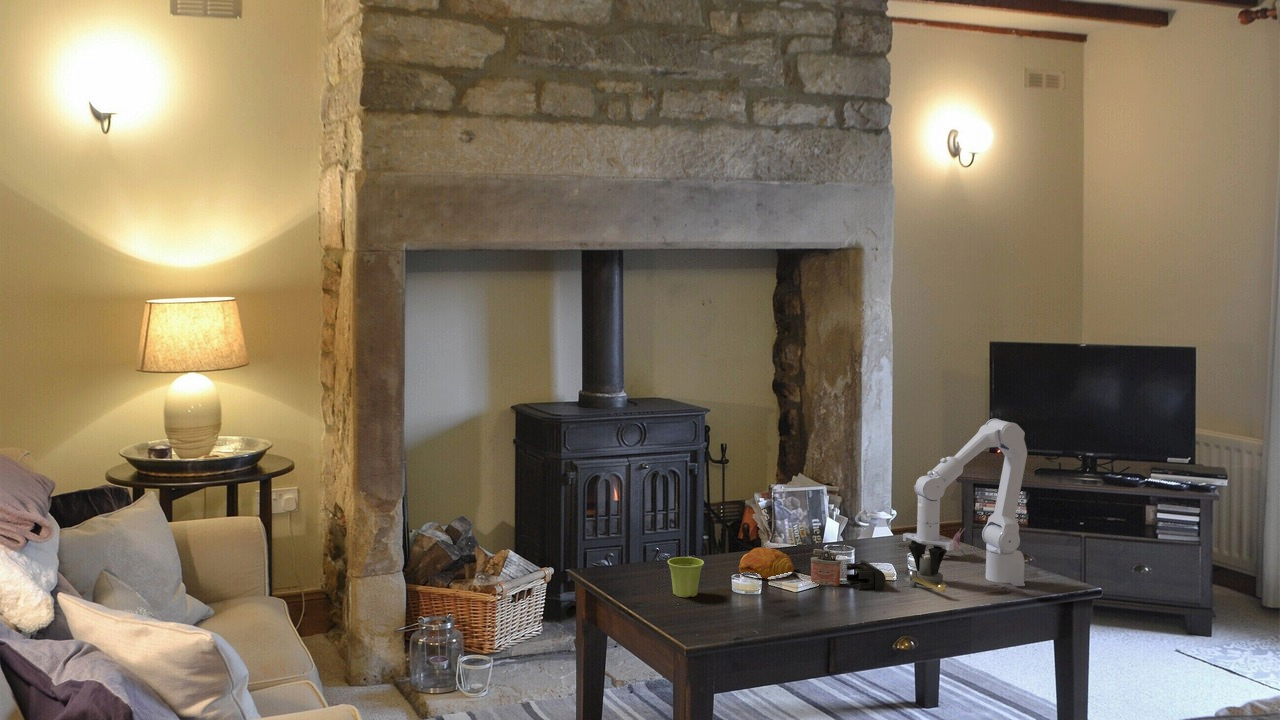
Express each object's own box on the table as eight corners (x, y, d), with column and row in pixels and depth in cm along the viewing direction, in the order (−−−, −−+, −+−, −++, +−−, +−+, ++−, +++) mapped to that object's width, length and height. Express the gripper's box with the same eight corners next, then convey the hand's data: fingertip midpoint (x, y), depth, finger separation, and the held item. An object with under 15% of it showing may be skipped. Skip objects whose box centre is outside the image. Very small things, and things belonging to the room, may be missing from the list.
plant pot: (707, 591, 293) (708, 558, 292) (697, 601, 284) (698, 567, 283) (673, 588, 296) (673, 555, 295) (662, 597, 287) (662, 564, 286)
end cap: (885, 594, 291) (886, 568, 291) (860, 595, 290) (860, 570, 289) (870, 584, 301) (871, 559, 301) (845, 585, 300) (846, 560, 299)
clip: (946, 598, 283) (947, 583, 283) (940, 599, 283) (941, 583, 282) (913, 585, 295) (914, 570, 295) (908, 585, 295) (908, 570, 294)
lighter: (841, 587, 297) (842, 550, 297) (838, 590, 294) (839, 553, 294) (812, 583, 301) (813, 546, 300) (808, 586, 298) (809, 549, 297)
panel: (952, 581, 304) (952, 576, 304) (971, 594, 291) (971, 590, 291) (894, 582, 303) (894, 577, 302) (911, 596, 290) (911, 591, 290)
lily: (960, 555, 336) (945, 527, 337) (989, 548, 327) (973, 519, 327) (937, 574, 329) (921, 545, 330) (966, 567, 320) (949, 537, 320)
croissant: (759, 572, 321) (757, 543, 321) (803, 575, 310) (800, 545, 310) (726, 579, 311) (724, 550, 311) (769, 583, 300) (767, 553, 300)
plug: (936, 575, 303) (936, 551, 302) (947, 583, 295) (947, 558, 294) (907, 576, 302) (907, 552, 301) (917, 584, 294) (918, 559, 293)
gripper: (896, 519, 300) (895, 569, 301) (943, 528, 289) (941, 580, 290) (912, 515, 304) (911, 564, 305) (958, 524, 294) (957, 575, 295)
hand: (927, 572), depth 298 cm, fingers closed on plug, 4 cm apart
